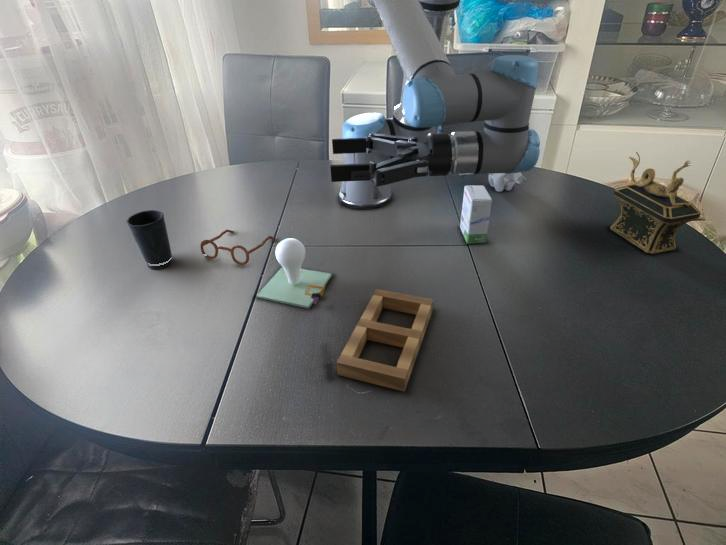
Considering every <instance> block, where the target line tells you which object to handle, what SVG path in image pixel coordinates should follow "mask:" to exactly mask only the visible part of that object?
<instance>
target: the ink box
mask: <svg viewBox="0 0 726 545" xmlns="http://www.w3.org/2000/svg"><path fill="white" fill-rule="evenodd" d="M462 198H463V199H462V205H461V206H462V207H461V215H460V222H459V223H460V224H459V228H460V231H461V233H462V235H463V238H464V240H465V242H466V244H467V245H471V244H486V243H487V239H488V238H487V237H488V231H489V224H490V215H491V209H492V208H491V207H492V203H493V199H492V197H491V195H490V194H489V192H488V190H487V189H486V187H485V185H471V184H470V185H467V184H466V185H464V189H463V197H462Z"/></svg>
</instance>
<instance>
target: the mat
mask: <svg viewBox="0 0 726 545" xmlns="http://www.w3.org/2000/svg"><path fill="white" fill-rule="evenodd" d="M332 276H333V275H332V273H328V272H323V271H319V270H312V269H306V268H301V274H300V283H299V284H297V285H291V284H289V281H288V277H287V276H286V272H285V270H284V268H283V267H282V266H281V267H280V268H279V269H278V271H276V273H275V274H274V275H273V276H272V278H271V279H269V281H268V282H267V283H265V285H264V287H262V289H261V290H259V291H258V293H257V294H256V298H257V299H261V300H265V301H266V300H267V301H271V302H276V303H281V304H285V305H288V306H289V305H290V306H295V307H299V308H305V309H310V307H312V305H313V304H314V303H313V299H312V298H311V295H305V292H306V294H308V293H307V291H306V288H307V285H315V286H323V289H324V287H326V285H327V283H328V282H329V281H330V279H331V278H332ZM308 287H309V286H308ZM309 289H310V291H309ZM309 289H308V288H307V290H308V292H309V293H315V294H316V293H320V294H321V292H320V290H321V291H323V290H322V289H320V288H311V287H309Z"/></svg>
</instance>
